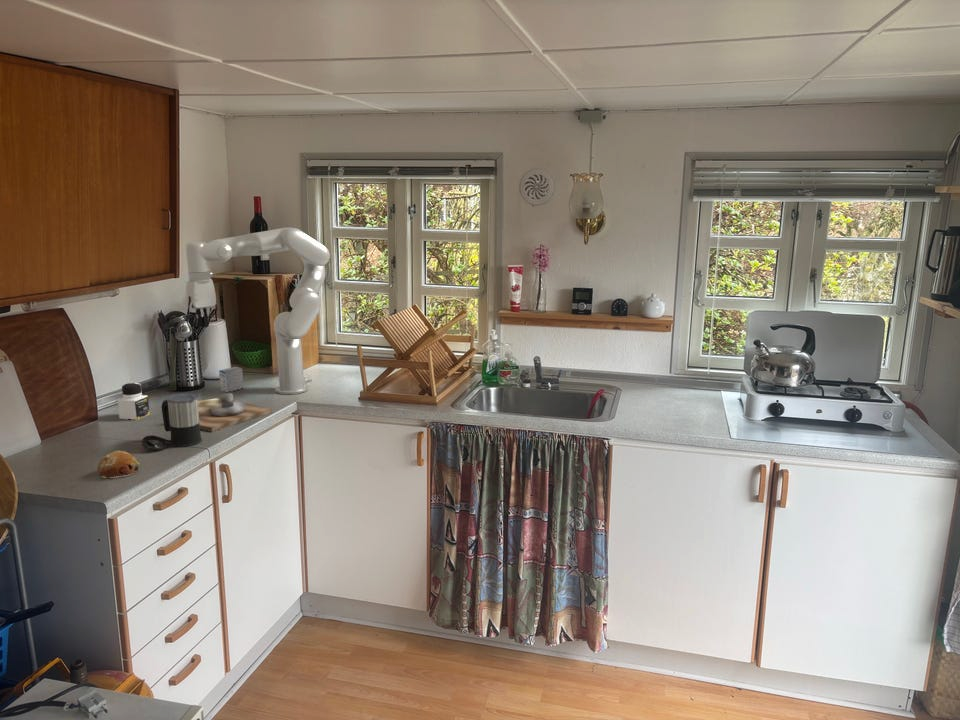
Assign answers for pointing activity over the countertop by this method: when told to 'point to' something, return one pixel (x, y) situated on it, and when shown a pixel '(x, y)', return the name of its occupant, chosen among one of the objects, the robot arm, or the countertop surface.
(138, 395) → the medicine bottle
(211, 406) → the grey disc with handle
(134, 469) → the bread roll
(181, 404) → the milk frother
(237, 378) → the medicine box
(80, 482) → the countertop surface
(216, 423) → the board
